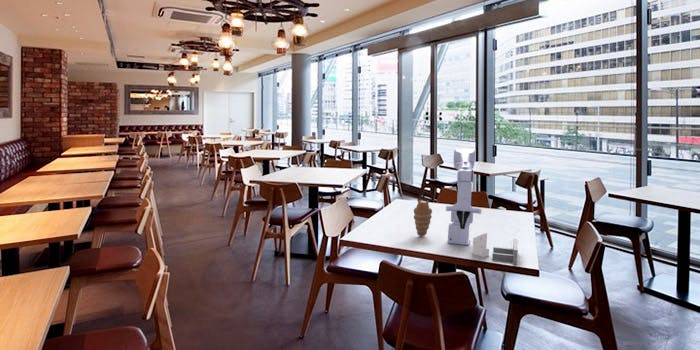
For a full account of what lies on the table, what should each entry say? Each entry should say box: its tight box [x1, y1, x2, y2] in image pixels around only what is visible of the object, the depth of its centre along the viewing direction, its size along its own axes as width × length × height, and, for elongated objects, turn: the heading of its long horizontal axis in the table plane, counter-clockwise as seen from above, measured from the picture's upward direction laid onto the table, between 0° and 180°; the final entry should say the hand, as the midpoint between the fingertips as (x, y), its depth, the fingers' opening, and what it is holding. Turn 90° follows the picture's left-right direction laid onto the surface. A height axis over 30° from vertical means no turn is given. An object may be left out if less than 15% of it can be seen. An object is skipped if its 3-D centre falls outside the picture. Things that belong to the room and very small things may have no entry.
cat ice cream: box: [413, 199, 433, 237], centre depth 225 cm, size 9×8×18 cm
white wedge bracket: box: [471, 232, 490, 257], centre depth 197 cm, size 4×10×9 cm, turn 33°
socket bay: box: [491, 238, 519, 266], centre depth 194 cm, size 10×18×6 cm, turn 161°
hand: (462, 228), depth 199 cm, fingers closed
